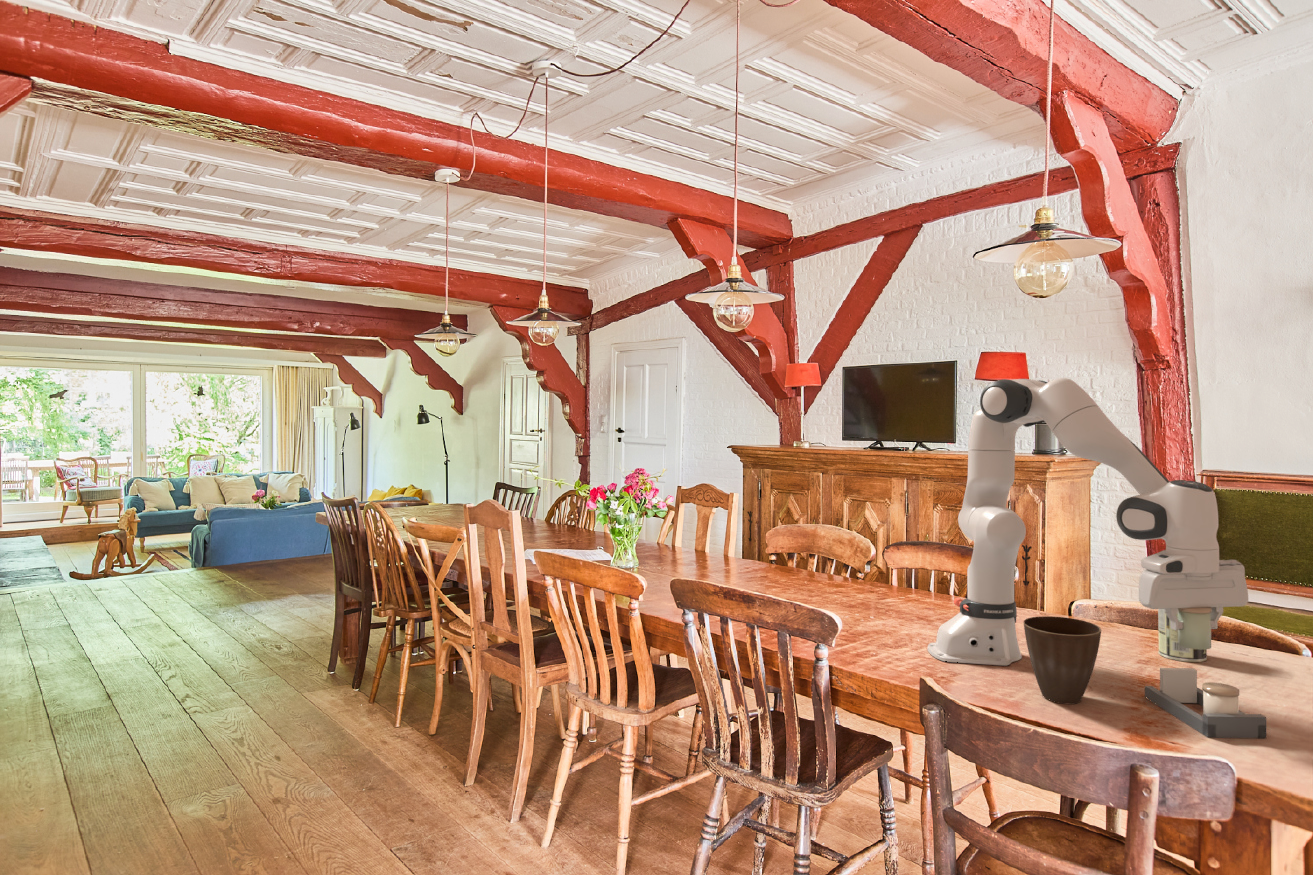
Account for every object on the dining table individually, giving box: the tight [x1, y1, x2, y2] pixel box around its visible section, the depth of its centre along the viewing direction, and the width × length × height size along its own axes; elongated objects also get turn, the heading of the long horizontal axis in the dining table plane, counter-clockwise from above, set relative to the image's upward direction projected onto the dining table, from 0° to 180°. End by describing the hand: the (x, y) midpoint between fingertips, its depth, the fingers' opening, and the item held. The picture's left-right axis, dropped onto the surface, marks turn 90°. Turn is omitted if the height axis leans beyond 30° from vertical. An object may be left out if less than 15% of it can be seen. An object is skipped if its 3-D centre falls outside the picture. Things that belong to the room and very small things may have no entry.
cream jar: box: [1201, 682, 1240, 714], centre depth 148 cm, size 6×6×8 cm
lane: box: [1144, 685, 1267, 739], centre depth 154 cm, size 10×21×4 cm, turn 176°
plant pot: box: [1023, 615, 1102, 704], centre depth 165 cm, size 15×15×16 cm
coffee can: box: [1157, 609, 1208, 663], centre depth 192 cm, size 10×10×14 cm
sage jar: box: [1177, 607, 1212, 650], centre depth 154 cm, size 6×6×8 cm
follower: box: [1159, 667, 1198, 704], centre depth 162 cm, size 7×4×7 cm, turn 86°
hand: (1193, 628), depth 154 cm, fingers closed on sage jar, 5 cm apart
